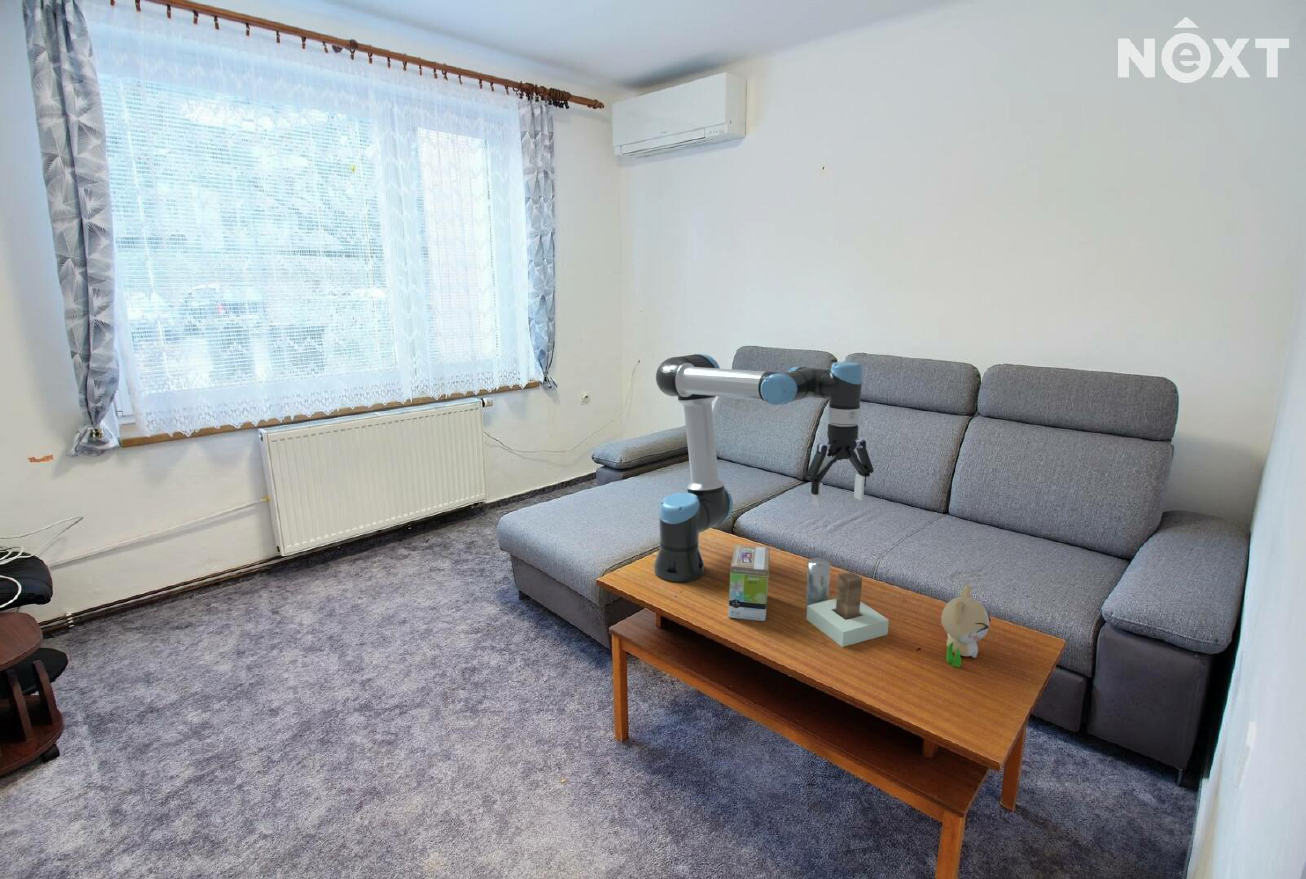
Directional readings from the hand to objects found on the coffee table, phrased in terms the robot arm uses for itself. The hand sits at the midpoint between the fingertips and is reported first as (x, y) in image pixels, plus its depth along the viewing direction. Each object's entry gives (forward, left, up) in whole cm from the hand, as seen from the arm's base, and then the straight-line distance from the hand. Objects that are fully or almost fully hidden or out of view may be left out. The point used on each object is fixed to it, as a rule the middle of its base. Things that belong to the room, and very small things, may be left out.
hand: (837, 502), depth 162 cm
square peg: (+12, -5, -29) cm, 32 cm away
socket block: (+12, -5, -29) cm, 32 cm away
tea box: (-7, -22, -29) cm, 37 cm away
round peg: (-1, -4, -29) cm, 29 cm away
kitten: (+32, +12, -29) cm, 45 cm away
